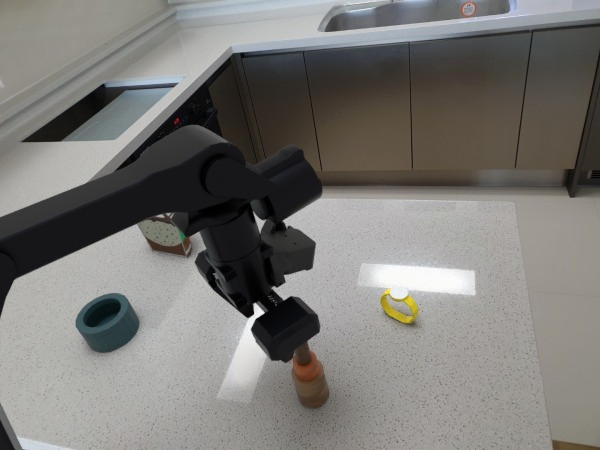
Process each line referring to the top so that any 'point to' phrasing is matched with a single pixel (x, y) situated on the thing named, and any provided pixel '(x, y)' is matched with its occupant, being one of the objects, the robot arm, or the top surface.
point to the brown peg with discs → (305, 363)
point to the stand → (312, 389)
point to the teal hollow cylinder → (107, 322)
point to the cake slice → (165, 236)
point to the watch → (399, 296)
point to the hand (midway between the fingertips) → (268, 336)
